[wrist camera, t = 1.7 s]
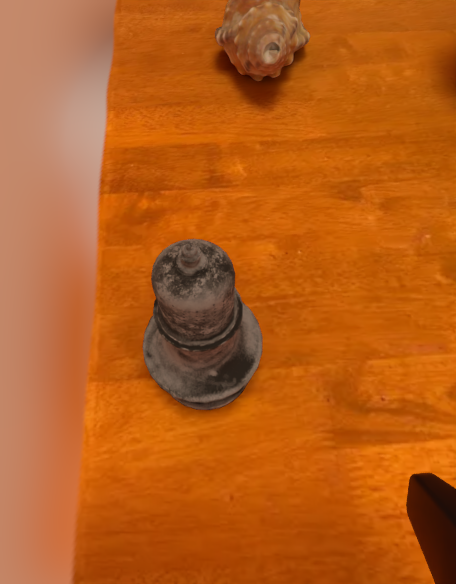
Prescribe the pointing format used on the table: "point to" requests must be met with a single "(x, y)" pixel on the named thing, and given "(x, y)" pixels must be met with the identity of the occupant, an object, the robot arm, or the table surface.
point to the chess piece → (200, 327)
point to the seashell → (261, 35)
